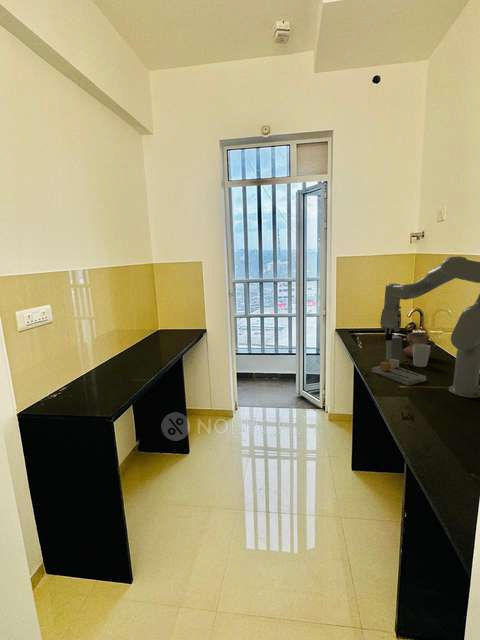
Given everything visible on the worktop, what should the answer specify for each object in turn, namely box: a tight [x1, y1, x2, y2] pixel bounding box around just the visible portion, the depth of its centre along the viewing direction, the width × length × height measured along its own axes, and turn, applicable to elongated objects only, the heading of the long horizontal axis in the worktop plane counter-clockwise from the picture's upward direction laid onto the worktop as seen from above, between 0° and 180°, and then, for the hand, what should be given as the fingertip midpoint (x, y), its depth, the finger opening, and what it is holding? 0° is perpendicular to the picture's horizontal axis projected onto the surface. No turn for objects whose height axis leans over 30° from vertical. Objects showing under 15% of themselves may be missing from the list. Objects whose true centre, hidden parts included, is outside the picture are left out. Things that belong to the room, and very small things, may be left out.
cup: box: [412, 344, 431, 368], centre depth 194 cm, size 9×9×12 cm
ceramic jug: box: [402, 332, 436, 358], centre depth 211 cm, size 18×14×14 cm
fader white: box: [389, 359, 400, 368], centre depth 184 cm, size 3×4×4 cm
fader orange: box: [379, 360, 391, 371], centre depth 180 cm, size 3×4×4 cm
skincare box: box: [385, 334, 403, 365], centre depth 201 cm, size 8×7×16 cm
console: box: [371, 365, 427, 386], centre depth 178 cm, size 23×13×3 cm, turn 26°
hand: (388, 340), depth 182 cm, fingers closed
